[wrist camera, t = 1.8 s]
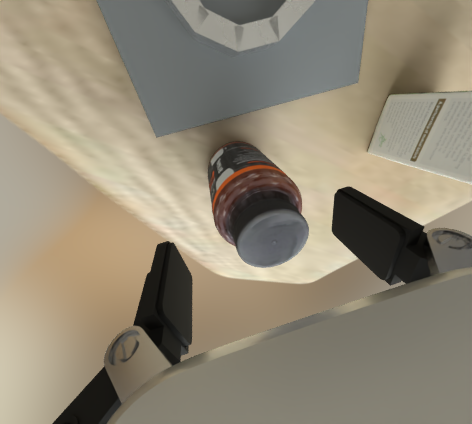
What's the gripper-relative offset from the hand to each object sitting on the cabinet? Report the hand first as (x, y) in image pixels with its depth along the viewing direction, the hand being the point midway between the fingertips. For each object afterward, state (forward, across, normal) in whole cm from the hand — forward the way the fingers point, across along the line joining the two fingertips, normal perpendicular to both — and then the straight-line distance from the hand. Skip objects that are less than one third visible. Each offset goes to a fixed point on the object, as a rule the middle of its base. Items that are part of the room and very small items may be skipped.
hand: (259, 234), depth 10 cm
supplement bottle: (+10, -1, 0) cm, 11 cm away
